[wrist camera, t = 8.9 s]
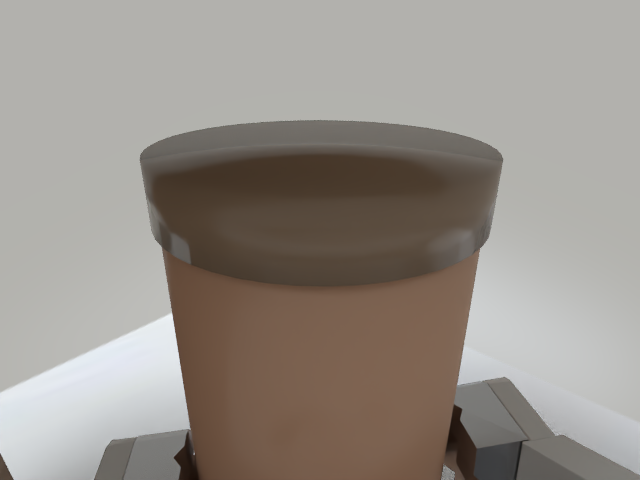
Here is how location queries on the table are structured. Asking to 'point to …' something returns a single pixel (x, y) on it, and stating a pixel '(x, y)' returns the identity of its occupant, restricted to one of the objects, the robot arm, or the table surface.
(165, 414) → the table surface
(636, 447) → the table surface
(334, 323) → the terracotta jar
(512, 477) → the robot arm
